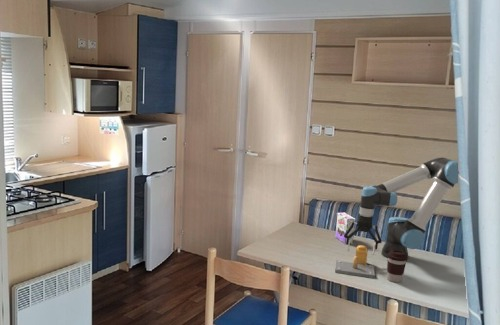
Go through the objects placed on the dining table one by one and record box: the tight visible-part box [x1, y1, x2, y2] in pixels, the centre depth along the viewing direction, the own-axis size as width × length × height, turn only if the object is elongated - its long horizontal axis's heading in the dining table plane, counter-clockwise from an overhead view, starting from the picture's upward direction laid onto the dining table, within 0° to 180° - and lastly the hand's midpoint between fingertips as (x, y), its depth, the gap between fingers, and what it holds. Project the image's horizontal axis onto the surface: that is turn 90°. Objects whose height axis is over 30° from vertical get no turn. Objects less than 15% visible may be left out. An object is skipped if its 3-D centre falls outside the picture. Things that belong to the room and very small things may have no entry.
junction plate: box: [334, 256, 376, 279], centre depth 258 cm, size 20×14×8 cm
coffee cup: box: [386, 250, 409, 283], centre depth 248 cm, size 10×10×15 cm
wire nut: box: [355, 244, 369, 265], centre depth 269 cm, size 6×6×10 cm
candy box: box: [334, 212, 356, 245], centre depth 307 cm, size 14×6×16 cm, turn 17°
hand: (360, 252), depth 268 cm, fingers open, 13 cm apart
